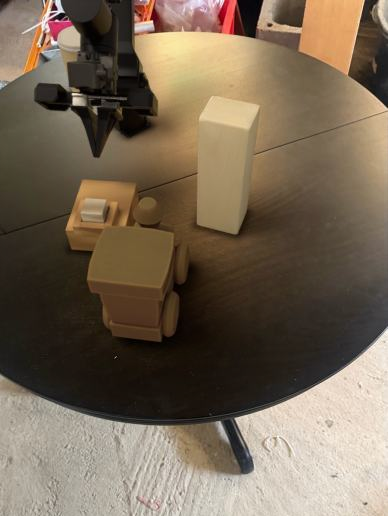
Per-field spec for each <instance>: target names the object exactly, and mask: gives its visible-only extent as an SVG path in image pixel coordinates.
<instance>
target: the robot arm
mask: <svg viewBox="0 0 388 516" xmlns="http://www.w3.org/2000/svg"><path fill="white" fill-rule="evenodd" d="M59 1H60V6H61V8H62V11H63V12H64V14H65V15H66V17H67V19H68V20H69V21H70V23H71V25H72V26H74V27H75V29H76V30H77V32H78V33H79V34H80V51H78V54H77V61H71V62H67V72H68V76H67V80H68V87H69V88H71V87H72V88H75V89H79V92H72V91H68V90H67V89H66V88H65V87H64V86H62V85H61V84H60V83H50V82H38V83H37V84H36V85H35V87H34V90H33V102H35V103H36V104H37V105H39V106H41V107H42V108H44V109H45V110H47V111H50V112H51V111H52V112H67V111H69V109H70V111H71V112H73V114H75V115H76V116H78V117H79V118H80V120H81V123H82V125H83V128H84V130H85V133H86V137H87V141H88V144H89V147H90V150H91V154H92V157H93V158H94V159H100V158H101V156H102V153H103V151H104V148H105V147H106V143H107V141H108V139H109V137H110V135H111V133H112V131H113V129H114V128H116V129H117V130H118V132H120V133H121V134H123V135H124V136H125V137H127V138H130V137H132V136H134V135H136V134H138V133H140V132H143V131H144V130H147V129H148V128H151V127H152V123H151V121H149V120H148V118H147V117H154V118H156V117H158V116H159V115H158V114H159V100H158V98H157V96H156V95H155V93H154V92H153V90H152V89H151V86H150V82H149V78H148V76H147V74H146V73H145V71H144V66H143V63H142V62H141V59H140V57H139V56H138V54H137V52H136V38H135V37H136V34H135V31H136V30H135V27H136V26H135V25H136V23H135V22H136V19H135V16H136V15H135V13H136V12H135V0H59ZM109 4H110V6H109ZM67 72H66V73H67ZM89 99H94V100H89ZM95 107H96V113H95V112H94V109H95Z"/></svg>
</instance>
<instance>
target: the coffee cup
mask: <svg viewBox="0 0 388 516" xmlns="http://www.w3.org/2000/svg"><path fill="white" fill-rule="evenodd" d="M56 43H57V46H58V49H59V52H60V55H61V59H62V62H63V65H64V68H65V73H66V75H67V77H68V72H67V62H71V61H77V54H78V51H80V34H79V33H78V32H77V30H76V29H75V27H74V26H73V25H71V26H68V27H64V28H63V29H62V30H61V31H60V32H58V34H57V39H56ZM70 88H71V92H79V89H75V88H72V87H70ZM89 100H94V99H89Z"/></svg>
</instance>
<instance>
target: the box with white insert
mask: <svg viewBox="0 0 388 516" xmlns="http://www.w3.org/2000/svg"><path fill="white" fill-rule="evenodd" d="M137 184H138V183H137V182H129V181H116V180H115V181H113V180H98V179H84V178H82V180H81V184H80V186H79V189H78V192H77V195H76V198H75V201H74V203H73V207H72V209H71V212H70V215H69V219H68V221H67V225H66V227H65V234H66V237H67V240H68V243H69V246H70V249H71V250H73V251H75V250H76V251H86V252H87V251H88V252H93V251H94V248H95V246H96V243H97V240H98V238H99V236H100V234H101V233H102V231H103V229H104V227H105V226H131V227H133V226H134V224H135V222H136V220H135V219H134V217H133V211H134V209H135V207H136V206H137V204H138V203H139V201H140V200H139V199H140V198H139V192H138V191H139V190H138V185H137ZM85 198H90V199H104V200H107V205H108V212H107V216H106V219H105V223H92V222H83V220H82V216H81V210H82V207H83V204H84V201H85Z"/></svg>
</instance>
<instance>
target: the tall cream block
mask: <svg viewBox="0 0 388 516" xmlns="http://www.w3.org/2000/svg"><path fill="white" fill-rule="evenodd" d="M260 113H261V105H259V104H257V103H251V102H248V101H247V102H246V101H241V100H236V99H231V98H227V97H222V96H218V95H211V97H210V98H209V100H208V101H207V103H206V105H205V107H204V109H203V110H202V112H201V114H200V115H199V118H198V122H197V123H198V126H197V127H198V129H197V133H198V135H197V181H196V182H197V185H196V186H197V189H196V190H197V191H196V225H197V226H200V227H203V228H207V229H211V230H215V231H219V232H223V233H227V234H231V235H238V234H239V231H240V229H241V226H242V224H243V221H244V219H245V217H246V214H247V210H248V206H249V205H248V204H249V196H250V189H251V181H252V175H253V167H254V160H255V159H254V158H255V153H256V144H257V138H258V137H257V136H258V129H259V121H260Z"/></svg>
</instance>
